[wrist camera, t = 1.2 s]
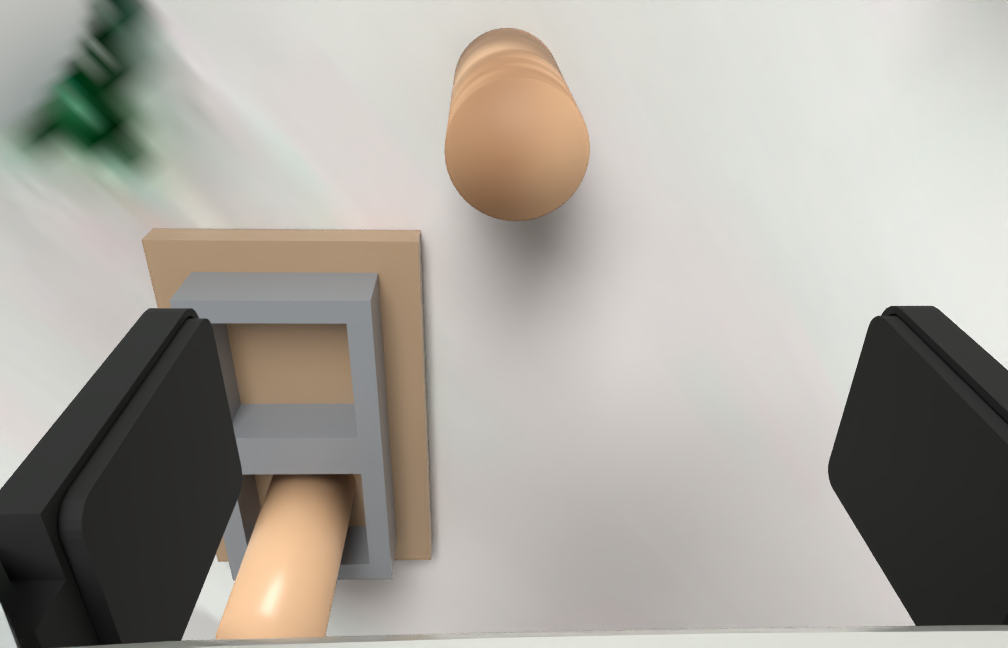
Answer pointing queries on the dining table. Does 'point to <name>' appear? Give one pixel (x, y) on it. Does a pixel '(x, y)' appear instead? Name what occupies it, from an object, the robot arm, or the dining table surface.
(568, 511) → the dining table surface
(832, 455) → the robot arm
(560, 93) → the switch lever
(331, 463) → the housing
